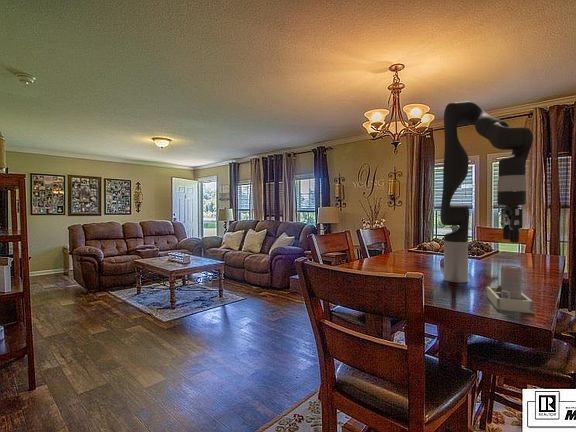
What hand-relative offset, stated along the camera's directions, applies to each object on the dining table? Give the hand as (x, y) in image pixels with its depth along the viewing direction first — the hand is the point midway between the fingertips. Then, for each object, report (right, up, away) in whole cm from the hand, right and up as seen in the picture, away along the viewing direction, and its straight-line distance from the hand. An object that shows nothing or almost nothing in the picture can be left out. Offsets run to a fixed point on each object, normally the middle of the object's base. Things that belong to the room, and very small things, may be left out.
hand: (510, 240), depth 100 cm
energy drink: (-1, -20, -2) cm, 20 cm away
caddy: (0, -21, +2) cm, 21 cm away
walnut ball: (+2, -20, +5) cm, 21 cm away
